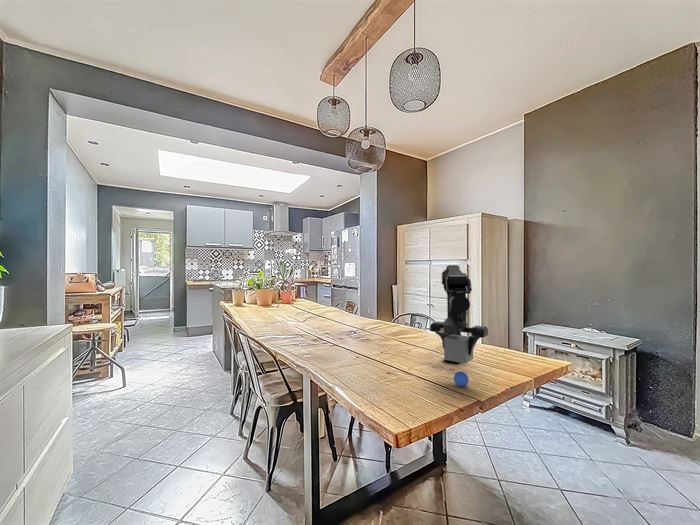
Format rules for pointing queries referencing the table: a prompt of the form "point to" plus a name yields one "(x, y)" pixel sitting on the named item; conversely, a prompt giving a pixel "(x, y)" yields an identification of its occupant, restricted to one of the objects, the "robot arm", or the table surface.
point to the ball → (461, 379)
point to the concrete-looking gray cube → (457, 348)
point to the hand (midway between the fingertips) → (458, 353)
